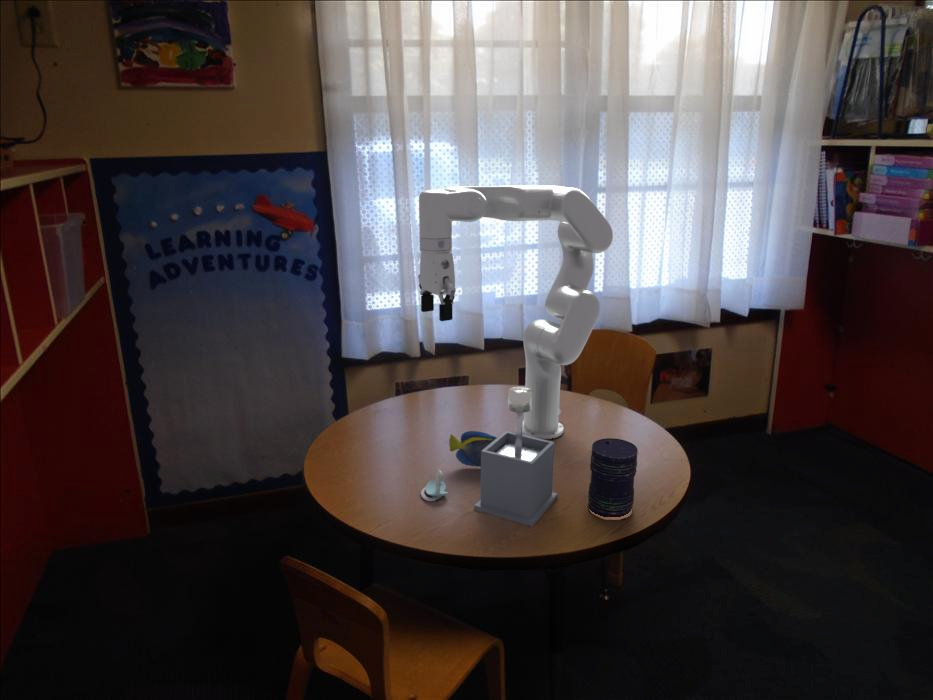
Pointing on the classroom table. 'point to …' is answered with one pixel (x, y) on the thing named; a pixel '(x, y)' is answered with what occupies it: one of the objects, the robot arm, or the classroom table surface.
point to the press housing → (517, 481)
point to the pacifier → (435, 488)
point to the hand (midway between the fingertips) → (436, 315)
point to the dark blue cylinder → (612, 477)
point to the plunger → (519, 424)
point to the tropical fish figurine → (470, 446)
